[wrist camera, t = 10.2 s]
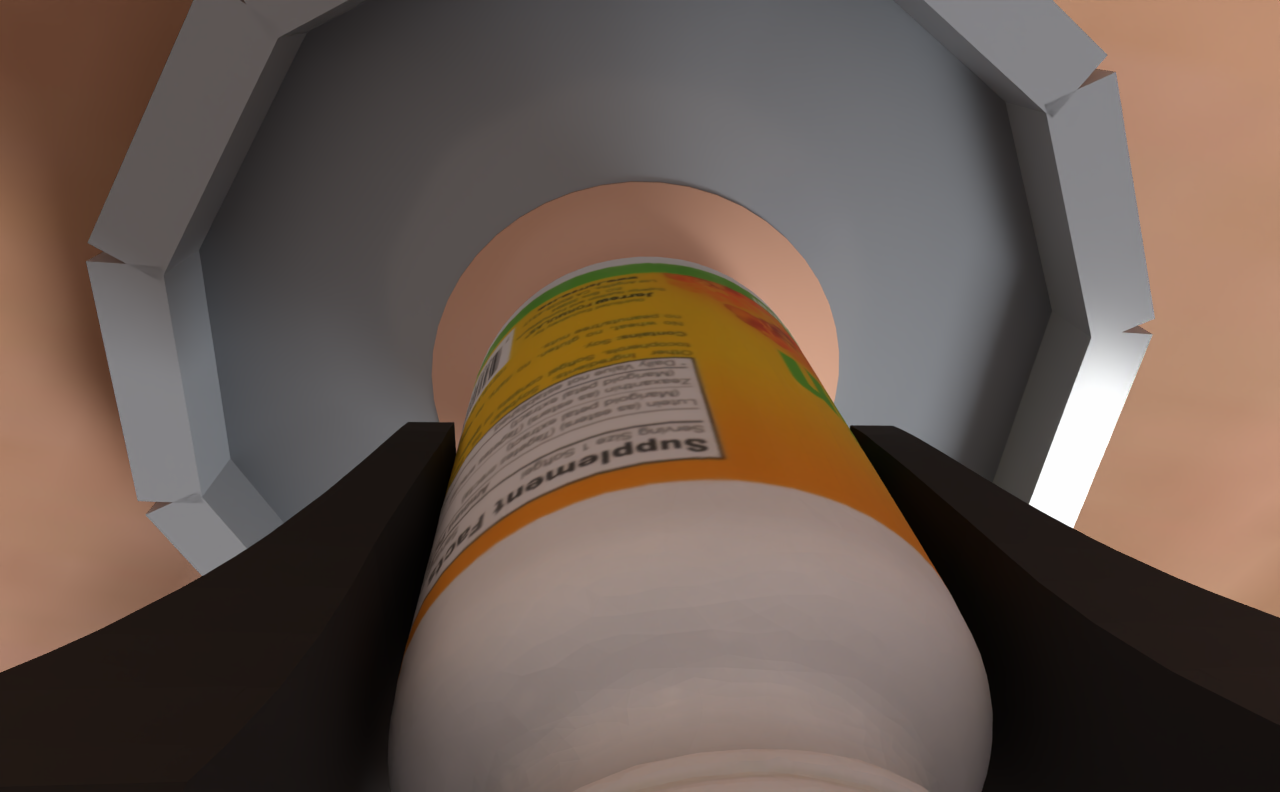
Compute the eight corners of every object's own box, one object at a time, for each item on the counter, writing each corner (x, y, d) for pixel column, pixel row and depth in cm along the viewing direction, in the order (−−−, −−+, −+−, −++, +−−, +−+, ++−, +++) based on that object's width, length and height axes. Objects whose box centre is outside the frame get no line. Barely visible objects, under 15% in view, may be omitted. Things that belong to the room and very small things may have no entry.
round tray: (1221, -91, 12) (1332, -104, 10) (938, 692, 19) (976, 764, 17) (72, -240, 10) (-33, -286, 9) (232, 679, 17) (193, 758, 16)
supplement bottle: (836, 479, 14) (1239, 1244, 6) (554, 577, 15) (523, 1408, 6) (748, 193, 12) (1210, 758, 3) (415, 322, 12) (37, 1104, 4)
